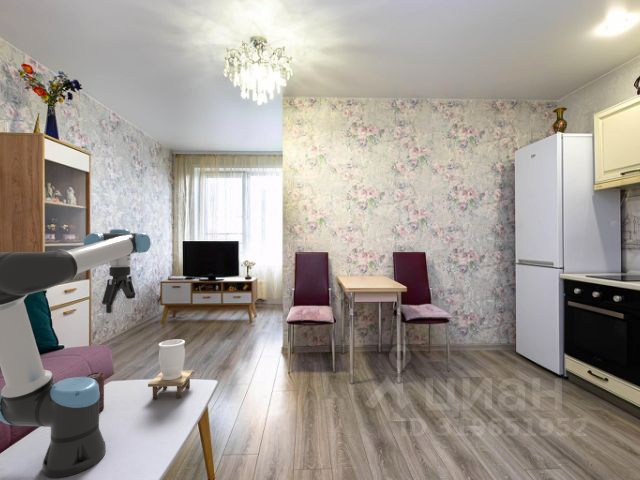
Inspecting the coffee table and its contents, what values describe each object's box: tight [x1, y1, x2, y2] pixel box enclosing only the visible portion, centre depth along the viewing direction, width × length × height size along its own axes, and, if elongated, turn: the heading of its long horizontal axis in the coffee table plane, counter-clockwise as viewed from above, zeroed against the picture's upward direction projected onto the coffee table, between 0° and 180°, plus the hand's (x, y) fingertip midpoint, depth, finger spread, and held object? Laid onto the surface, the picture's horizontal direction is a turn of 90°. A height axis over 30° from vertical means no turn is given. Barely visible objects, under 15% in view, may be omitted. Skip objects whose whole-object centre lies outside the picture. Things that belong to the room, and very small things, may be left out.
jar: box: [158, 338, 186, 380], centre depth 142 cm, size 11×10×15 cm
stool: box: [147, 369, 195, 400], centre depth 142 cm, size 14×14×7 cm
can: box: [85, 372, 105, 413], centre depth 127 cm, size 6×6×14 cm
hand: (119, 317), depth 136 cm, fingers open, 13 cm apart
